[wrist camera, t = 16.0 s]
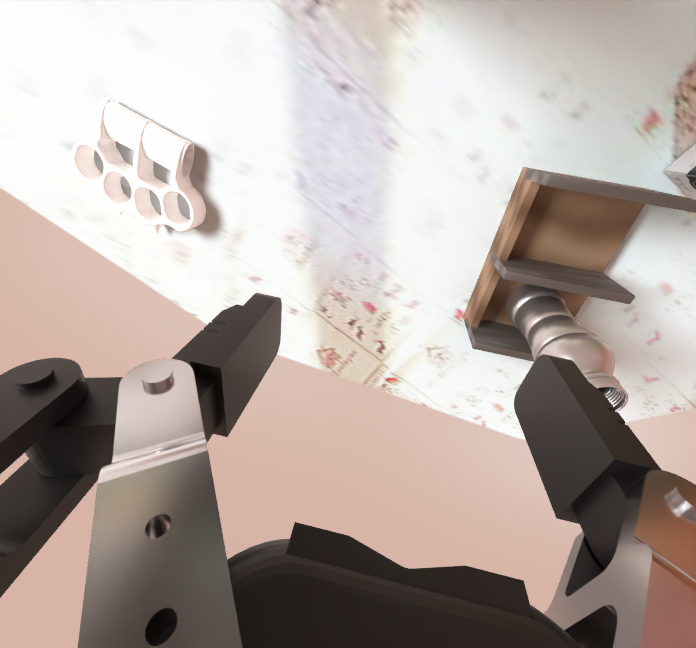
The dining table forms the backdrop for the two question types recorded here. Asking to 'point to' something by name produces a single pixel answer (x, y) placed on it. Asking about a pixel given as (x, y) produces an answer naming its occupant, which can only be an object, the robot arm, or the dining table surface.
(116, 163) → the white flat holed piece
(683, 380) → the dining table surface
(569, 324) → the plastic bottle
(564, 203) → the wooden shelf rack
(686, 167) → the tea box
